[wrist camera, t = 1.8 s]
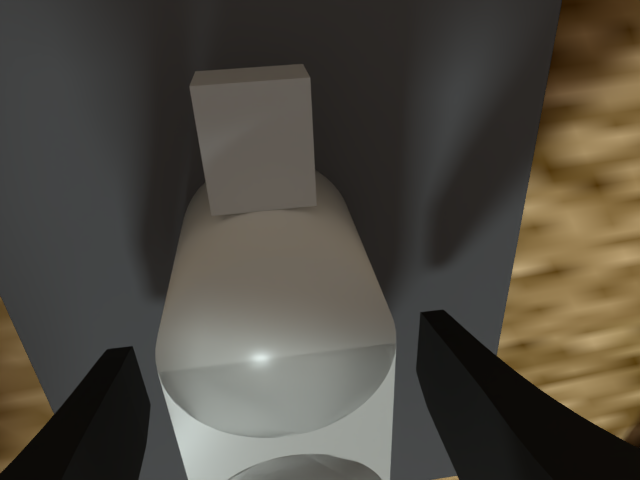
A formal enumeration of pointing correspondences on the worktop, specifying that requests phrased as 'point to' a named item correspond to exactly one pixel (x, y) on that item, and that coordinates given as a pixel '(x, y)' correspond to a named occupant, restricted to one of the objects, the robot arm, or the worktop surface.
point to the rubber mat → (329, 155)
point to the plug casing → (273, 300)
